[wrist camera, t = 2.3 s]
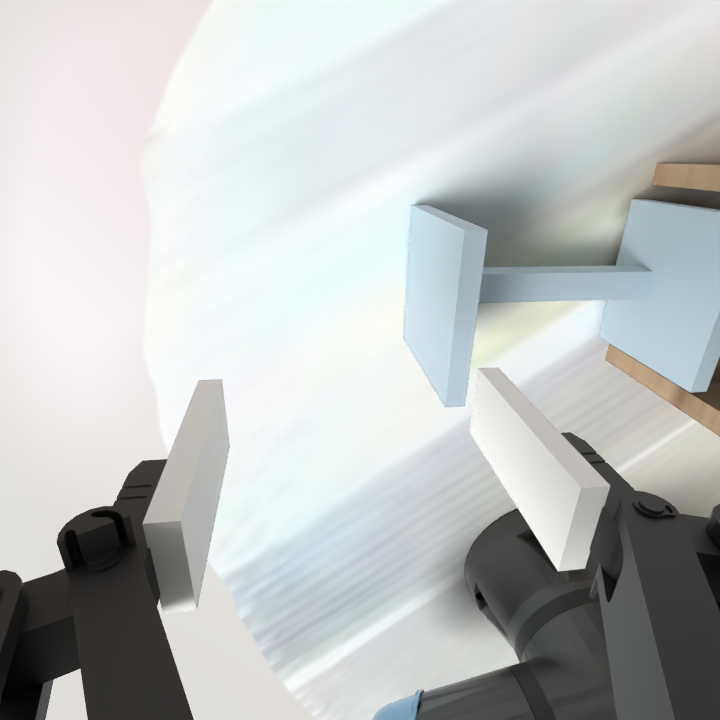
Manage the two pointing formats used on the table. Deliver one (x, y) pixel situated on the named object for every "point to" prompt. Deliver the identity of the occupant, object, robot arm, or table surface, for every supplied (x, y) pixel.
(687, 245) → the plunger
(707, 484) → the table surface
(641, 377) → the tunnel
